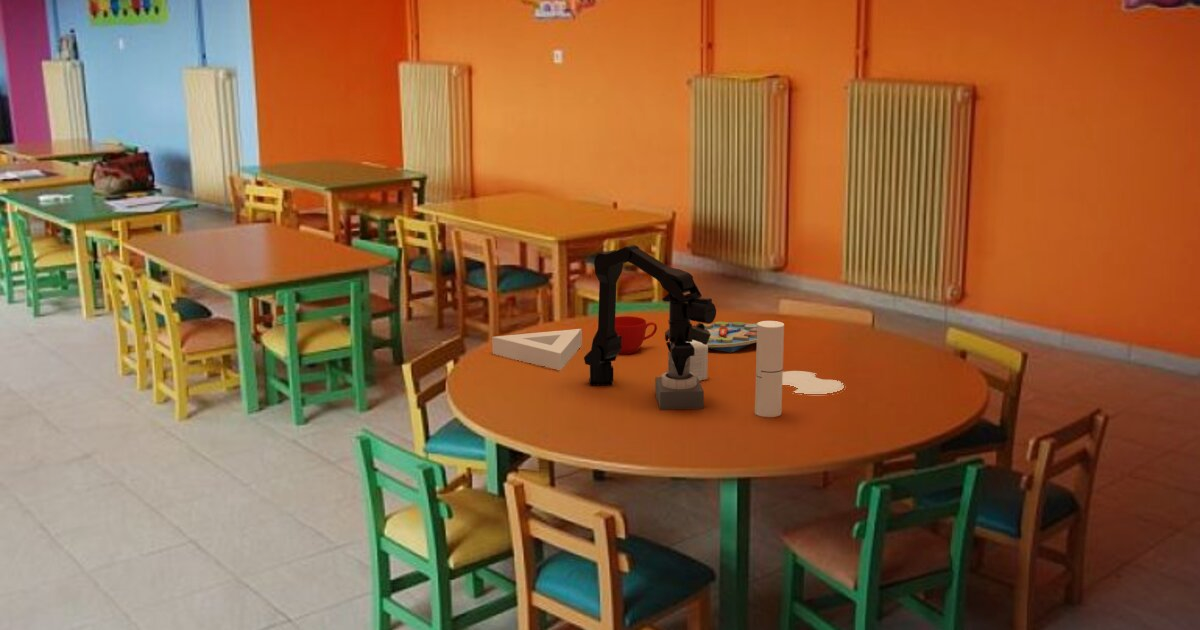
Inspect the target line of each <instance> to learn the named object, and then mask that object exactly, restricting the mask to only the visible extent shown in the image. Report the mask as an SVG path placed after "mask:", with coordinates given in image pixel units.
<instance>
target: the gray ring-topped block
mask: <svg viewBox="0 0 1200 630" xmlns="http://www.w3.org/2000/svg"><path fill="white" fill-rule="evenodd" d="M654 380H655V382H654V383H655V385H654V387H655V388H654V394H655V397H656V401H657V404H658V406H659V409H660V410H691V409H692V410H693V409H695V410H696V409H697V410H698V409H704V403H705V402H704V399H705V396H704V395H705V393H704V392H705V391H704V389H703V388H704V387H702V384H701V383H700V381H699V379H698V377H697V376H696V374H695V373H692V372H690V378H689V379H683V380H676V379H670V378H668V371H666V372H665V371H664V372H663V373H661V376H656V377H655V379H654Z"/></svg>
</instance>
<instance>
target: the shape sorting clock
mask: <svg viewBox="0 0 1200 630" xmlns="http://www.w3.org/2000/svg"><path fill="white" fill-rule="evenodd" d="M703 324H704V327H705V330H706V329H707V330H708V331H709V332H710V334H711V335H710V338H709V340H708V343H707V346H708V350H715V351H720V352H726V353H731V352H733V353H735V352H737V351H739V350H741V349H743V348H745V347H747V346H749V345H752V344H755V343H756V344H757V323H747V322H742V321H732V322H728V321H715V322H714V321H713V323H710V324H707V323H703ZM692 340H693V339H692ZM734 351H735V352H734Z"/></svg>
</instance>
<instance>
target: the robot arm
mask: <svg viewBox="0 0 1200 630" xmlns="http://www.w3.org/2000/svg"><path fill="white" fill-rule="evenodd" d="M625 263H630V264H631V265H633V266H635V267H636V268H637V269H639V270H642V272H644V273H646V274H648V275H649V276H651V277H652V278H653V279H655V280H657V281H658V282H659V284H660V286H661V287H662V289H664V291H666V292H667V294H666V295H665V296H664V297H663V298H662V300H663V301H665V302H669V303H668V304H669V305H668V306H669V307H668V308H669V309H668V311H669V313H668V317H669V318H668V320H667V321H668V322H667V323H668V327H669V328H668V329H667V330H665V332H664V340H665V342H666V346H667V349H668V353H669V352H670V354H671V357H672V359H673V362H674V365H675V367H676V370H677V373H678V375H679V376H682V375H683V371H684V367H685V364H686V360H687V358H689V357H690V356H694V354H695V349H694V347H693V345H692V344H691V343H690V342H692V339H693V340H695V341H698V342H701V343H702V344H705V345H707V343H708V340H709V338H710V335H711V334H710V332H709V331H708V330H707V329H706V330H705V327H704V324H713V323H714V321H715V319H716V316H717V309H716V305H715V304H714V303H713V301H712V298H710V297H707V298H706V297H703V296H702V295H703V294H701V292H700V290H699V288H698V286H697V285H696V283H695V281H694V276H693V275H692V274H691V273H689V272H687V271H684V270H683V269H680V268H676V267H671V266H668V265H667V264H666V263H663V262H662V261H660V260H658V259H657V258H655V257H653V256H651V255H650V253H647V252H645V251H643V250H642V249H640V247H639V246H638V245H635V244H631V245H627V246H624V247H622V248H620V249H617V250H616V249H615V250H614V249H613V250H612V249H611V250H608V251H605V252H600V253H598V254H596V255H595V257H594V259H593V267H594V274H595V276H596V278H597V280H598V282H599V285H598V287H599V288H598V289H599V290H598V314H597V315H598V320H597V323H598V324H597V330H596V332H595V334H594V336H593V338H592V342H591V348H590V350H589V351H588V352H587V353H586V355H585V356H583V360H584V364H585V365H587V366H589V378H588V380H589V386H612V385H613V383H614V366H613V365H612V362H614V361H616V360H617V356H618V355H619V354H620V353H619V352H620V349H622V346H621V341H622V336H618V335H617V333H616V331H615V317H616V310H617V309H616V307H617V306H616V305H617V283H618V280H619V278H620V277H621V275H622V272H623V267H624V264H625ZM691 321H692V322H697V324H696V325H695V324H694V325H693V323H692V322H691Z"/></svg>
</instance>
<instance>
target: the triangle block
mask: <svg viewBox="0 0 1200 630" xmlns="http://www.w3.org/2000/svg"><path fill="white" fill-rule="evenodd" d="M582 330H583V329H582V328H575V329H565V330H564V329H563V330H554V331H553V330H552V331H542V332H541V331H540V332H531V333H522V334H521V333H520V334H509V335H497V336H492V337H491V338H492V339H491V341H492V344H491V345H492V355H494V354H496V355H495V356H498V355H500V356H499V357H502V356H503V358H506V357H507V358H506V359H510V358H511V360H514V359H515V360H514V361H517V360H519V362H521V361H523V362H522V363H525V362H528V363H527V364H529V363H532V364H531V365H533V364H536V365H535V366H537V365H541V366H545V367H550V368H553V369H557V370H560V371H561V369H562V368H563V367H564V366H565V364H566V363H567V362H568V361H569V360H570V359H571V360H572V358H573V357H574V356H575V355H576V353H577V352H578V351H579V350H580V349H581V348H582V346H583V339H582V338H583V335H582V334H583V333H582V332H583V331H582ZM579 348H580V349H579ZM578 349H579V350H578ZM577 350H578V351H577ZM574 354H575V355H574ZM573 355H574V356H573ZM572 356H573V357H572ZM571 357H572V358H571ZM571 360H570V361H571ZM570 361H569V362H570ZM569 362H568V363H569ZM568 363H567V364H568ZM567 364H566V365H567ZM541 366H540V367H541ZM545 367H544V368H545ZM565 367H566V366H565ZM565 367H564V368H565ZM564 368H563V369H564ZM563 369H562V370H563ZM560 371H559V372H560ZM561 372H562V371H561Z"/></svg>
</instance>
